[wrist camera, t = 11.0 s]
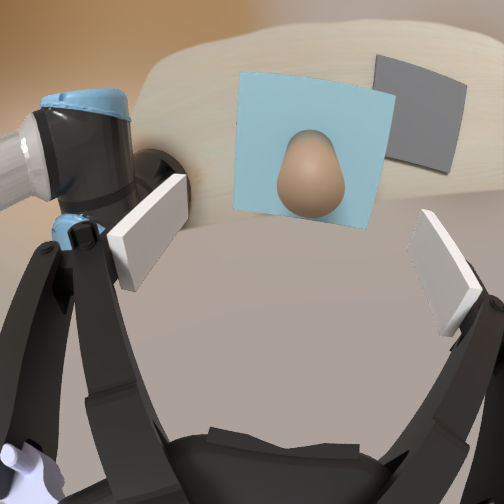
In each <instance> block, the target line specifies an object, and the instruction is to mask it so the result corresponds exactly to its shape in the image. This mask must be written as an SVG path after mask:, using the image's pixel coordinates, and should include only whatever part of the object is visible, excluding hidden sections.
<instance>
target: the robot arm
mask: <svg viewBox="0 0 504 504" xmlns="http://www.w3.org/2000/svg"><path fill="white" fill-rule="evenodd" d="M40 107H41V109H40V110H37V111H34V112H31V113H29V114H28V115H27V117H26V118H25V120H24V121H23V123H22V125H21V126H20V127H19V129H18V130H16V131H13V132H11V133H8V134H6V135H3V136H1V137H0V211H2V210H4V209H6V208H8V207H10V206H12V205H14V204H16V203H18V202H20V201H22V200H24V199H26V198H28V197H31V196H35V197H38V198H40V199H42V200H44V201H46V202H48V201H51V200H53V199H55V198H58V201H59V206H60V209H61V214H62V215H60V216H58V218H56V220H55V223H54V224H53V228H52V239H53V241H49V242H45V243H42V244H41V245H40V246H39V247H38V248H37V249H36V250H35V252H34V254H33V256H32V257H31V259H30V262H29V264H28V266H27V268H26V270H25V272H24V274H23V276H22V279H21V281H20V283H19V286H18V288H17V291H16V293H15V295H14V298H13V300H12V303H11V305H10V308H9V310H8V313H7V316H6V319H5V321H4V324H3V327H2V330H1V333H0V502H3V503H5V504H439V503H440V502H441V500H442V499H443V497H444V496H445V494H446V493H447V491H448V489H449V488H450V486H451V484H452V483H453V481H454V479H455V477H456V476H457V474H458V472H459V470H460V468H461V467H462V464H463V463H464V460H465V459H466V457H467V454H468V452H469V449H470V447H469V444H467V443H466V442H465V441H466V439H467V436H468V434H469V432H470V430H471V428H472V425H473V423H474V421H475V419H476V416H477V414H478V411H479V408H480V406H481V404H482V401H483V399H484V396H485V402H484V409H483V415H482V422H481V427H480V432H479V437H478V441H477V446H476V450H475V454H474V458H473V462H472V465H471V469H470V473H469V476H468V479H467V482H466V485H465V488H464V491H463V495H462V498H461V502H460V504H504V303H503V302H502V301H501V300H500V299H499V298H497V297H495V296H493V295H489V294H488V292H487V291H486V289H485V287H484V285H483V283H482V281H481V280H480V279H479V276H478V275H477V274H476V271H475V270H474V268H473V267H472V265H471V264H470V263H469V262H468V261H467V260H466V259H465V258H464V257H463V255H462V254H461V252H460V251H459V249H458V247H457V246H456V244H455V243H454V241H453V240H452V238H451V237H450V236H449V234H448V233H447V231H446V230H445V228H444V227H443V225H442V224H441V223H440V221H439V220H438V218H437V217H436V216H435V214H434V213H433V212H432V211H428V210H424V209H421V211H420V214H419V218H418V220H417V223H416V226H415V230H414V232H413V235H412V238H411V241H410V243H409V246H408V248H407V252H408V254H409V256H410V258H411V261H412V263H413V265H414V268H415V270H416V273H417V275H418V278H419V280H420V283H421V285H422V288H423V290H424V293H425V296H426V298H427V301H428V304H429V307H430V309H431V312H432V315H433V318H434V321H435V324H436V327H437V330H438V333H439V336H446V337H453V335H454V334H455V332H456V331H457V329H458V328H460V330H461V333H462V334H461V335H460V337H459V338H458V339H457V341H456V342H455V344H454V345H453V346H452V347H451V349H450V351H452V352H451V354H450V356H449V358H448V360H447V362H446V364H445V365H444V367H443V369H442V371H441V373H440V375H439V377H438V378H437V380H436V382H435V384H434V385H433V387H432V389H431V390H430V392H429V394H428V395H427V397H426V398H425V400H424V402H423V403H422V405H421V406H420V408H419V409H418V411H417V412H416V414H415V415H414V417H413V418H412V420H411V421H410V423H409V424H408V426H407V427H406V428H405V430H404V431H403V432H402V434H401V435H400V437H399V438H398V439H397V441H396V442H395V443H394V445H393V446H392V447H391V448H390V450H389V451H388V452H387V453H386V454H385V455H384V456H383V457H382V458H380V459H379V460H378V461H377V460H376V459H374V458H372V457H370V456H368V455H365V454H363V453H359V446H360V445H359V444H329V443H323V444H318V445H311V446H306V447H298V448H290V449H284V448H281V447H278V446H275V445H273V444H270V443H268V442H265V441H262V440H260V439H258V438H255V437H253V436H250V435H248V434H243V433H238V432H233V431H228V430H223V429H218V428H214V427H210V429H209V432H208V434H201V435H191V436H187V437H183V438H180V439H176V440H174V441H172V442H169V439H168V437H167V435H166V433H165V431H164V430H163V427H162V426H161V424H160V421H159V419H158V417H157V415H156V412H155V410H154V408H153V405H152V403H151V400H150V398H149V395H148V392H147V390H146V387H145V385H144V382H143V379H142V377H141V374H140V371H139V368H138V365H137V362H136V360H135V357H134V354H133V351H132V347H131V345H130V341H129V338H128V335H127V332H126V328H125V325H124V321H123V318H122V314H121V310H120V307H119V303H118V299H117V295H116V291H115V288H114V285H113V284H114V283H115V282H116V280H117V279H118V280H119V283H120V287H121V289H124V290H128V291H132V292H136V291H137V289H138V288H139V287H140V285H141V284H142V282H143V281H144V279H145V278H146V276H147V275H148V273H149V272H150V271H151V269H152V268H153V266H154V265H155V263H156V262H157V261H158V259H159V258H160V256H161V255H162V254H163V252H164V251H165V249H166V248H167V247H168V245H169V243H170V242H171V241H172V240H173V238H174V237H175V235H176V234H177V233H178V232H179V230H180V229H181V228H182V226H183V225H184V223H185V222H186V221H187V220H188V203H189V200H190V184H189V180H188V177H187V175H186V172H185V171H184V169H183V167H182V166H181V165H180V164H179V162H178V161H177V160H176V159H174V158H173V157H172V156H170V155H169V154H167V153H165V152H163V151H160V150H155V149H146V150H142V151H139V152H137V153H135V154H133V150H132V139H131V127H130V122H131V118H130V117H129V110H128V101H127V97H126V94H125V93H124V92H123V91H121V90H119V89H90V90H79V91H72V92H67V93H61V94H54V95H49V96H46V97H44V98H43V99H42V100H41V104H40ZM74 302H75V310H76V320H77V328H78V336H79V343H80V350H81V357H82V362H83V368H84V373H85V378H86V383H87V388H88V393H89V395H88V397H86V398H85V408H86V412H87V416H88V420H89V424H90V428H91V431H92V435H93V438H94V442H95V445H96V448H97V451H98V454H99V457H100V461H101V463H102V466H103V469H104V472H105V475H106V477H107V478H106V479H103V480H101V481H100V482H98V483H96V484H93V485H91V486H89V487H87V488H85V489H83V490H81V491H79V492H76V493H74V494H72V495H70V496H67V497H65V495H64V494H63V491H62V487H63V486H64V483H65V482H64V477H63V476H62V474H61V472H60V469H59V467H58V465H57V464H56V457H57V449H58V437H59V436H58V435H59V408H60V395H61V383H62V373H63V365H64V357H65V351H66V344H67V338H68V332H69V326H70V321H71V316H72V311H73V306H74ZM485 393H486V394H485Z"/></svg>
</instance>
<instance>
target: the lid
mask: <svg viewBox="0 0 504 504" xmlns="http://www.w3.org/2000/svg"><path fill="white" fill-rule="evenodd" d="M395 98H396V96H395V95H392V94H388V93H384V92H380V91H376V90H372V89H368V88H363V87H359V86H354V85H349V84H344V83H339V82H333V81H327V80H321V79H315V78H308V77H300V76H291V75H282V74H270V73H256V72H240V73H239V90H238V109H237V130H236V152H235V176H234V204H233V209H237V210H245V211H252V212H260V213H267V214H274V215H280V216H288V217H295V218H301V219H307V220H313V221H320V222H326V223H332V224H338V225H344V226H349V227H355V228H361V229H367V226H368V222H369V219H370V215H371V211H372V208H373V204H374V200H375V196H376V192H377V188H378V184H379V180H380V176H381V172H382V167H383V163H384V158H385V153H386V149H387V144H388V139H389V133H390V128H391V123H392V117H393V111H394V105H395Z"/></svg>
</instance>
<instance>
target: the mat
mask: <svg viewBox="0 0 504 504" xmlns="http://www.w3.org/2000/svg"><path fill="white" fill-rule="evenodd" d="M373 90H376V91H380V92H384V93H388V94H392V95H395V96H396V98H395V105H394V111H393V117H392V123H391V128H390V133H389V139H388V144H387V149H386V153H385V156H387V157H391V158H395V159H399V160H403V161H407V162H411V163H415V164H419V165H422V166H426V167H430V168H433V169H437V170H440V171H443V172H447V173H449V172H450V169H451V165H452V161H453V157H454V153H455V149H456V145H457V140H458V136H459V131H460V126H461V121H462V116H463V110H464V104H465V97H466V90H467V85H465V84H463V83H461V82H458V81H456V80H453V79H451V78H449V77H446V76H444V75H441V74H438V73H436V72H433V71H430V70H427V69H425V68H422V67H419V66H416V65H413V64H409V63H406V62H403V61H399V60H396V59H392V58H389V57H385V56H381V55H376V64H375V73H374V82H373Z"/></svg>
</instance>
